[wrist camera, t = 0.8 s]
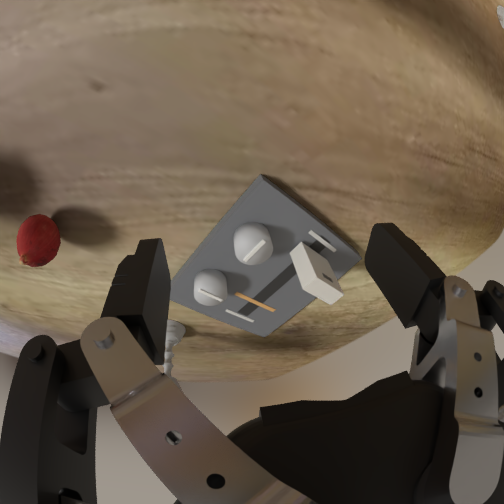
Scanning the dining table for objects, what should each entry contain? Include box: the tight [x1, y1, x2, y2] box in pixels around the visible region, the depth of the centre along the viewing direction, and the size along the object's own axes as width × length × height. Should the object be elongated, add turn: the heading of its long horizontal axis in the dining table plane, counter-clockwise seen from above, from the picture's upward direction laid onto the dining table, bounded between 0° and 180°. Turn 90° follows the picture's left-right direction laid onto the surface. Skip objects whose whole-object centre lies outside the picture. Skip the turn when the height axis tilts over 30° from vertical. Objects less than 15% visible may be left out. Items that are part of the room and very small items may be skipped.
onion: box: [17, 214, 61, 267], centre depth 24 cm, size 6×6×8 cm
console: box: [170, 174, 362, 337], centre depth 34 cm, size 20×18×4 cm
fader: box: [290, 242, 344, 305], centre depth 31 cm, size 2×5×6 cm, turn 51°
